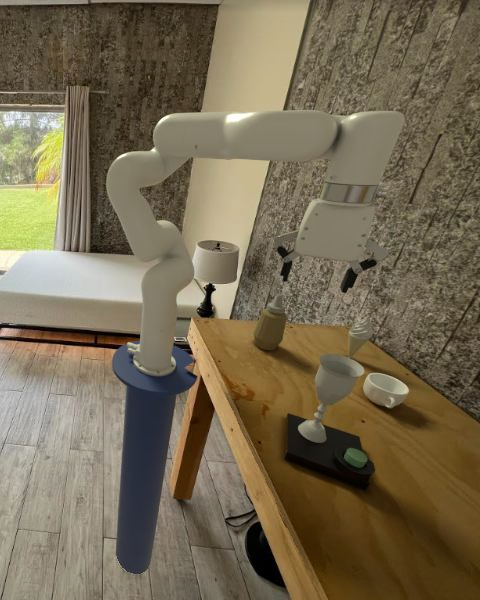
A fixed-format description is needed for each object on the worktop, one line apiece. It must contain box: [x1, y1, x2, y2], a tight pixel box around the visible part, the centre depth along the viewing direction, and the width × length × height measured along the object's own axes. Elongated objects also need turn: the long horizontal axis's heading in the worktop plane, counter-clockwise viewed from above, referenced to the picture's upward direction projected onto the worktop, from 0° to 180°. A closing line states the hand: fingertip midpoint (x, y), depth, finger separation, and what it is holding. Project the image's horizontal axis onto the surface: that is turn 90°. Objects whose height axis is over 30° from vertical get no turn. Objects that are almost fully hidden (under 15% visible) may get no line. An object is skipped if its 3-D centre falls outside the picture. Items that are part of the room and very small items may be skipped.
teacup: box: [362, 372, 410, 409], centre depth 77 cm, size 10×8×5 cm
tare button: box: [344, 448, 368, 468], centre depth 59 cm, size 3×3×2 cm
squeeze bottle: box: [253, 293, 288, 351], centre depth 97 cm, size 8×8×18 cm
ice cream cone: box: [347, 314, 374, 359], centre depth 91 cm, size 5×5×15 cm
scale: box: [283, 412, 376, 491], centre depth 65 cm, size 13×12×4 cm
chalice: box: [298, 353, 365, 443], centre depth 64 cm, size 7×7×18 cm
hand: (312, 284), depth 62 cm, fingers open, 9 cm apart
